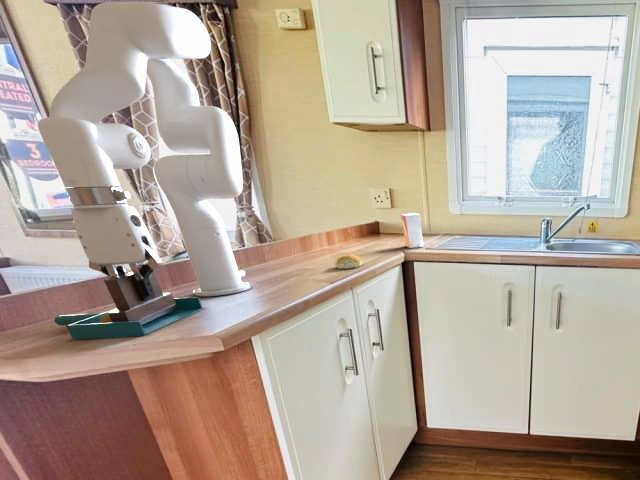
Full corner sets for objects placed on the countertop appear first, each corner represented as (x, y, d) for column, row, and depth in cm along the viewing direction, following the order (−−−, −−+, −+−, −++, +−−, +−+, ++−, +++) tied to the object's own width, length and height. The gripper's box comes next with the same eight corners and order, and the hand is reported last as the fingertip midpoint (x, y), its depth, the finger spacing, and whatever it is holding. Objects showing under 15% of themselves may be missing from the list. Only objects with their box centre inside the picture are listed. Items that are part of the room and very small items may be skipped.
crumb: (114, 309, 82) (126, 321, 83) (102, 315, 82) (114, 327, 83) (105, 314, 79) (117, 327, 81) (92, 320, 80) (105, 333, 81)
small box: (404, 246, 184) (400, 214, 178) (419, 244, 187) (415, 213, 181) (409, 248, 178) (405, 215, 172) (424, 246, 180) (420, 214, 174)
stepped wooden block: (163, 309, 92) (145, 267, 87) (177, 308, 92) (160, 266, 88) (115, 330, 79) (92, 282, 75) (132, 329, 79) (110, 281, 75)
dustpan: (202, 308, 94) (198, 296, 93) (144, 335, 77) (138, 321, 76) (97, 314, 93) (91, 302, 92) (14, 343, 76) (6, 329, 75)
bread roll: (363, 263, 144) (360, 251, 143) (360, 268, 137) (358, 255, 135) (337, 265, 143) (335, 253, 141) (333, 269, 135) (331, 257, 133)
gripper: (159, 196, 80) (194, 293, 88) (68, 200, 79) (112, 297, 86) (130, 197, 73) (171, 302, 81) (31, 201, 72) (82, 307, 80)
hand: (140, 299), depth 84 cm, fingers closed on stepped wooden block, 2 cm apart
